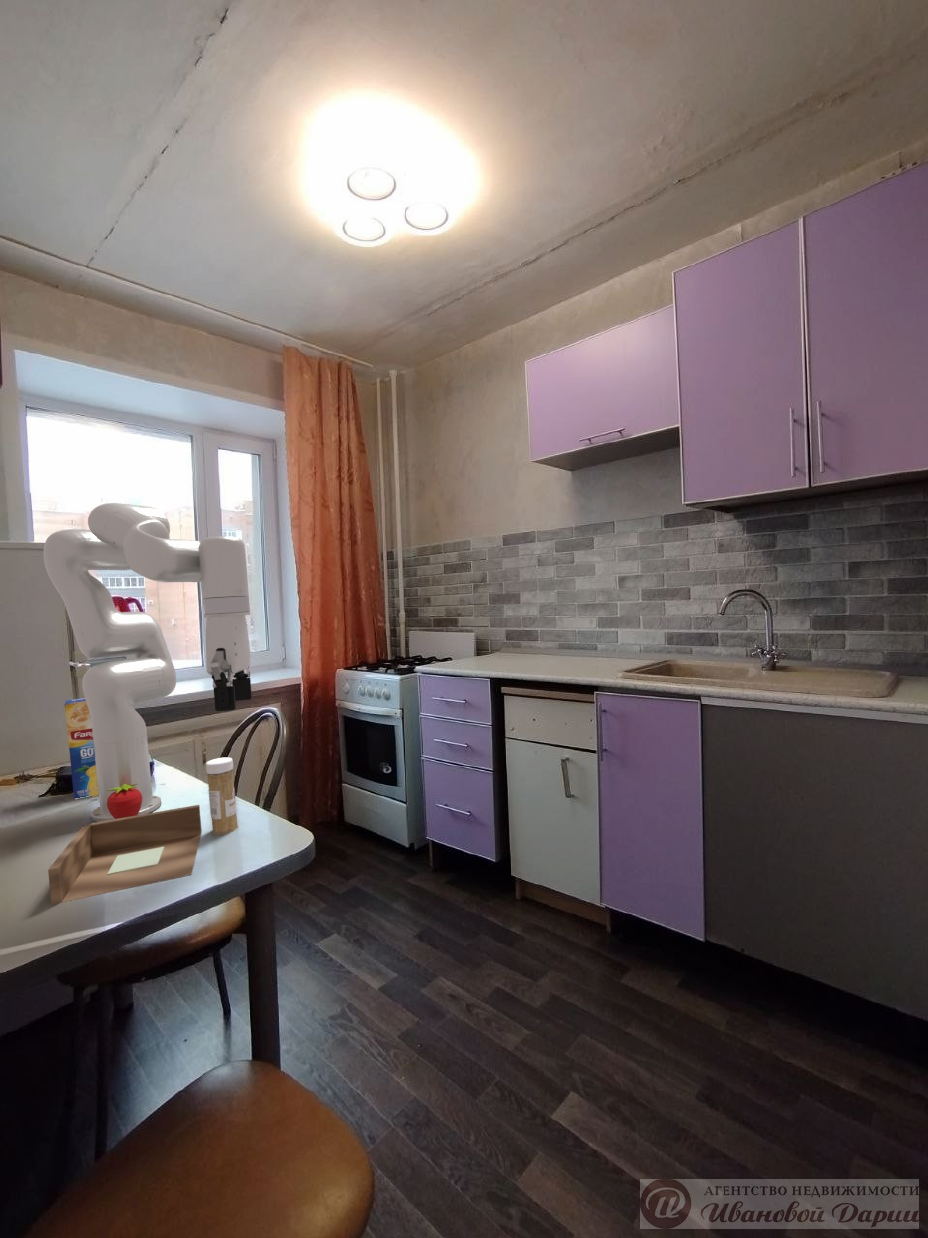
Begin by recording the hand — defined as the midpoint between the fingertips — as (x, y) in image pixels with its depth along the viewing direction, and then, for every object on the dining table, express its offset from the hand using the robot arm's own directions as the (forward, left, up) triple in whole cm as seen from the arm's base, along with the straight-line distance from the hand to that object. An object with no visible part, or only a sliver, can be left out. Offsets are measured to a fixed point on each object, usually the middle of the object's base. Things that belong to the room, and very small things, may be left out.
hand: (234, 704), depth 100 cm
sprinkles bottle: (-4, -4, -24) cm, 25 cm away
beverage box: (-47, -33, -24) cm, 63 cm away
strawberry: (-16, -22, -24) cm, 36 cm away
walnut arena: (+4, -17, -24) cm, 29 cm away
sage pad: (+3, -17, -23) cm, 29 cm away
